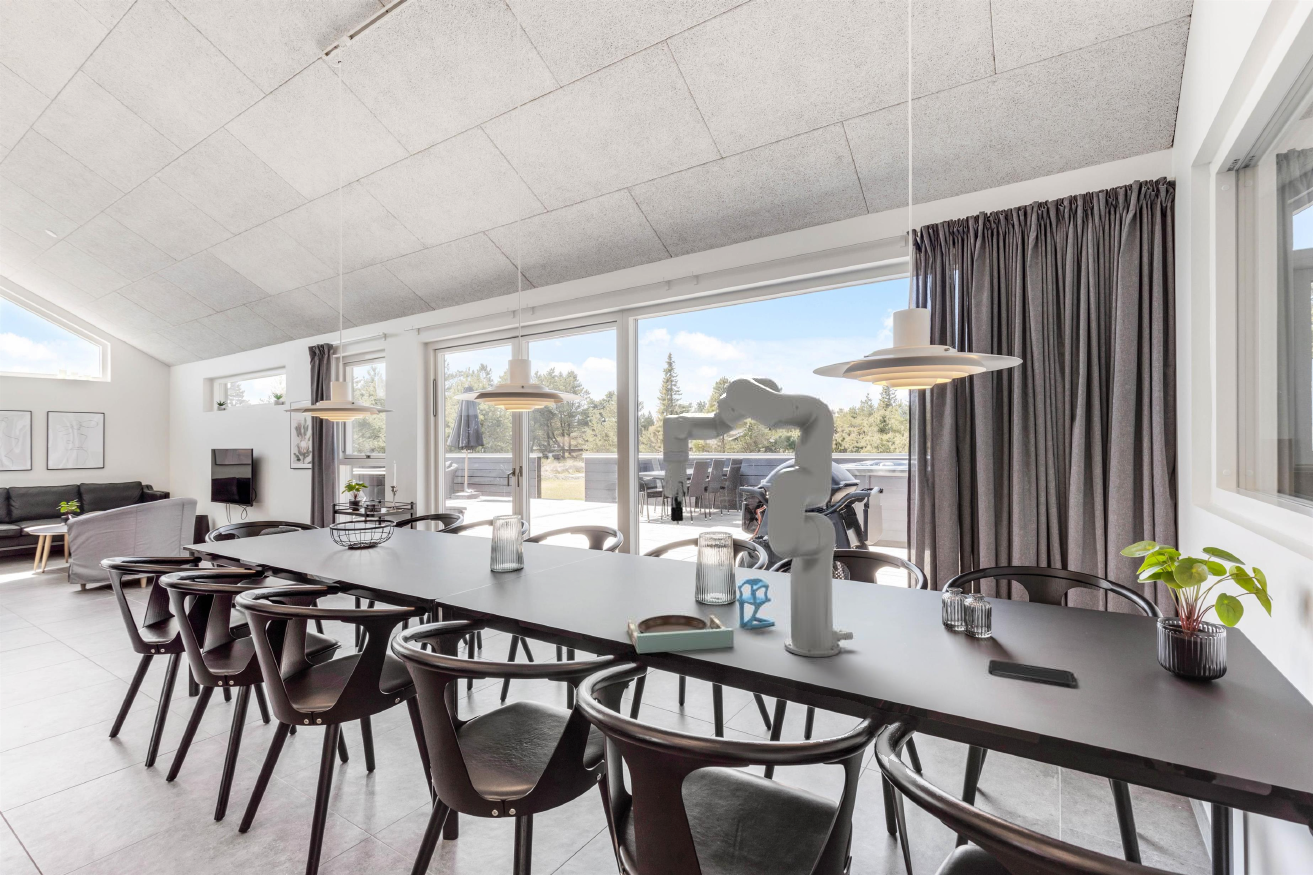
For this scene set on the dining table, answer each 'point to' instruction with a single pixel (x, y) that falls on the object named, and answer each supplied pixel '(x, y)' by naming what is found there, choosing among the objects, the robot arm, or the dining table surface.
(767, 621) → the chair
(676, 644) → the saucer dock
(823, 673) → the dining table surface
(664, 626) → the plant saucer
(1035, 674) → the phone
